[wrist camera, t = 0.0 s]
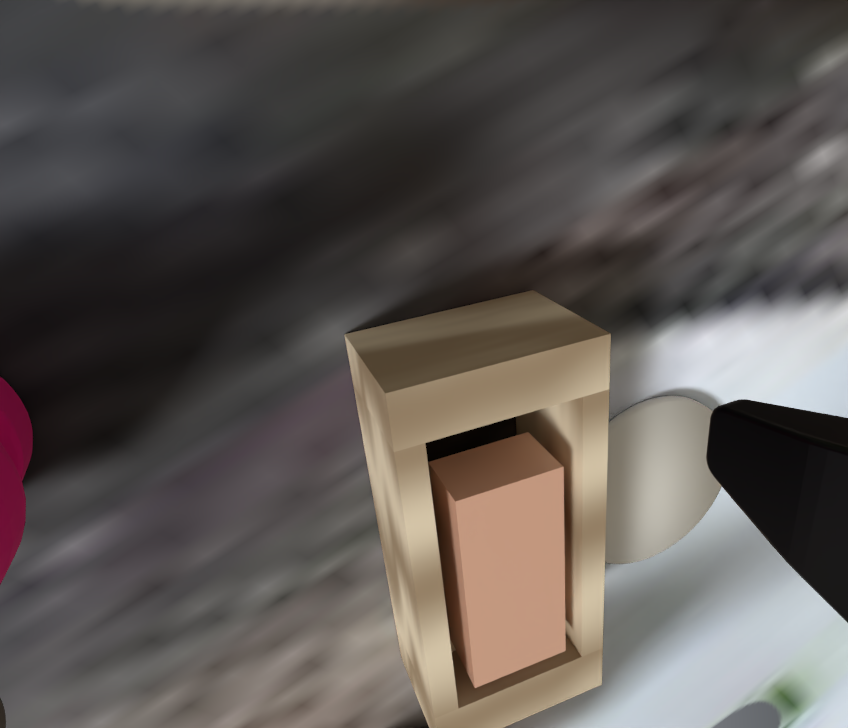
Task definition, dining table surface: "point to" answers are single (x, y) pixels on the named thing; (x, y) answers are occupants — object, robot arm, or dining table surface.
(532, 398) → the beech pocket board
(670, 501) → the felt coaster
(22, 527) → the pepper mill
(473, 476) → the terracotta block
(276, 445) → the dining table surface
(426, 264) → the dining table surface
